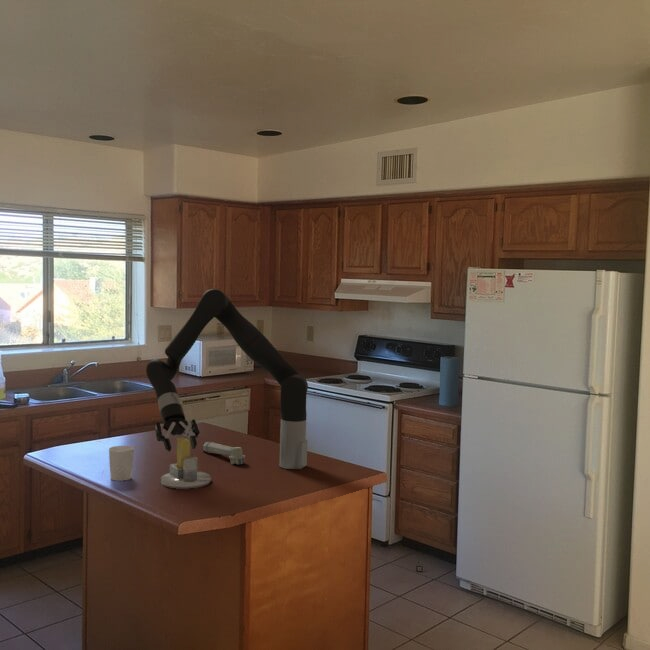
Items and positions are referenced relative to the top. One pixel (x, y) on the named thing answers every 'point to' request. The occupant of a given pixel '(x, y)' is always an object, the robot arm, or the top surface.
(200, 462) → the top surface
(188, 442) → the yellow block
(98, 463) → the top surface
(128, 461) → the white cup
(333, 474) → the top surface
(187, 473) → the round grey holder stand
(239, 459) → the white long round-headed device
